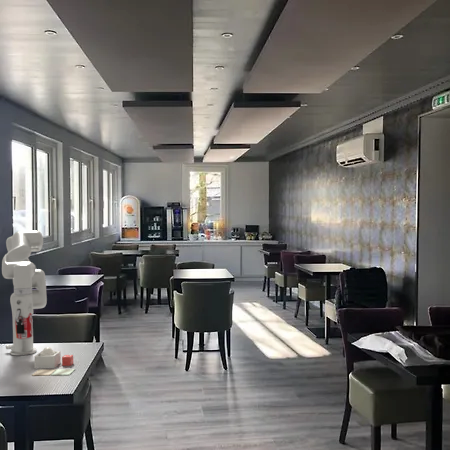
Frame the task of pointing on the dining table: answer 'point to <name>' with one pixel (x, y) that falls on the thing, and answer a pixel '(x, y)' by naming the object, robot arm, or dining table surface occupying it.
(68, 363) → the die
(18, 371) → the dining table surface
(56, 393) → the dining table surface
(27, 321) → the soda can
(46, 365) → the base
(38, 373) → the beige and green board
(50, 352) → the dome
